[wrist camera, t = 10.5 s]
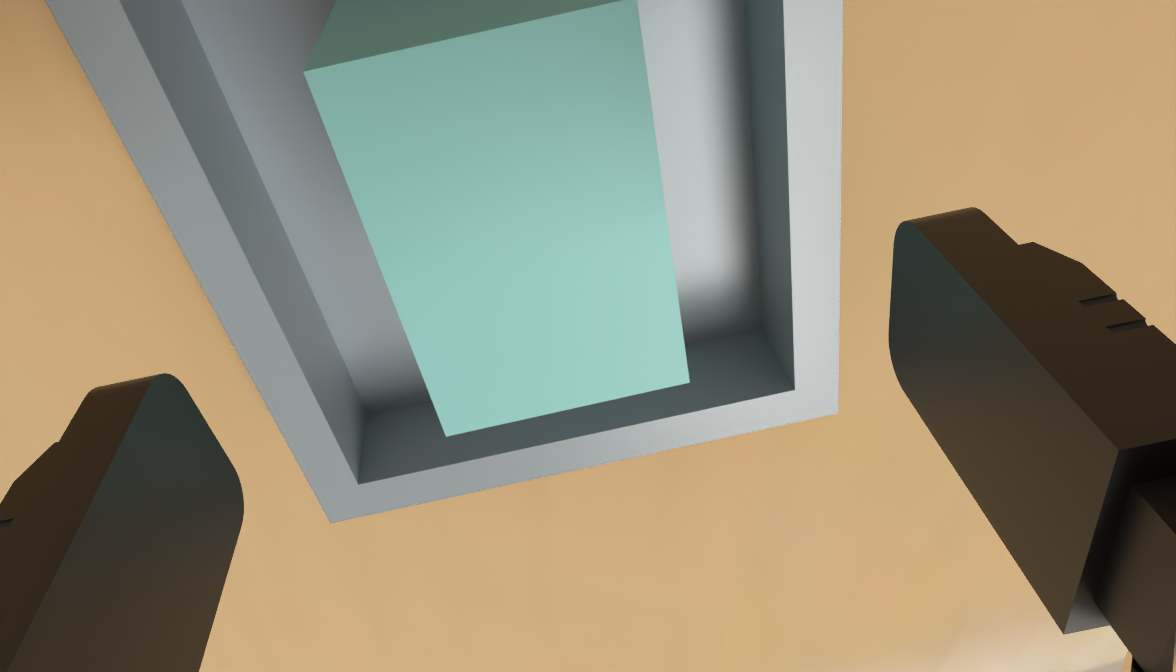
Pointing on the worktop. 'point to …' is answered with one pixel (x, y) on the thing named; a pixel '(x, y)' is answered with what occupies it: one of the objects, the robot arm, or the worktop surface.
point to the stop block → (508, 196)
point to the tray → (356, 284)
